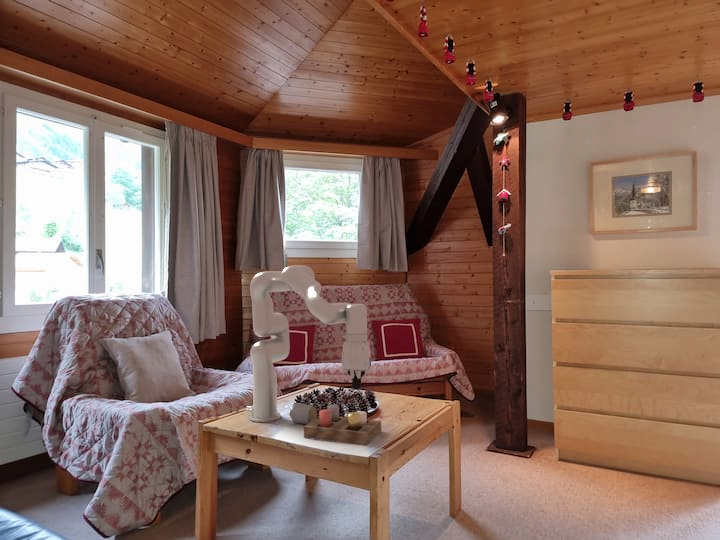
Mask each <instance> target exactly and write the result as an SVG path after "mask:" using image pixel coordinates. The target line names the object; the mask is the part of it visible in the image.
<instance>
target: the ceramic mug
mask: <svg viewBox="0 0 720 540" xmlns="http://www.w3.org/2000/svg"><path fill="white" fill-rule="evenodd" d="M317 413H318V411H317V408H316V407H315V406H313V405H312V404H306V403H301V402H296V403H294V405H293V407H292V408H291V414H290V415H291V421H292V423H295V424H303V425H307V424H309V423H310V422H312V421H313V420H315V419H317V418H318V414H317ZM316 417H317V418H316Z"/></svg>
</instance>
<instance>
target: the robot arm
mask: <svg viewBox="0 0 720 540" xmlns="http://www.w3.org/2000/svg"><path fill="white" fill-rule="evenodd" d="M315 276H316V275H315V272H314V270H313V268H311V267H310V266H308V265H304V264H303V265H302V264H301V265H299V264H298V265H289V266H287V267H284V269H283V270H282V271H279V270H278V271H275V270H269V271H268V270H267V271H262V272H261V271H260V272H258V273H257V274H255V275H254V276H253V278H252V279H251V281H250V286H249V292H250V293H249V294H250V298H251V310H252V312H251V313H252V328H253V329H252V330H253V333H254V335H255V336H257V337H259V338H267V337H270V338H269V339H263V340H259V341H257V342H255V343H254V344H253V345H251V348H250V350H249V351H250V353H249V354H250V361H251V365H252V381H253V382H252V386H253V387H252V397H253V398H252V402H253V403H252V405H246V407H245V412H246V413H250V415H249V417H248V418H249V420H250V421H251V422H256V423H270V422H273V421H277V420H279V419H281V415H282V414H281V413H280V412H278V398H277V397H278V393H277V392H278V389H277V388H278V386H277V385H278V383H277V382H278V380H277V377H278V376H277V370H276V368H275V365H274V363H275V362H276V363H277V362H280V361H283V360H285V359H286V358H288V356H289V354H290V349H291V348H290V347H291V346H290V345H291V344H290V325H289V324H290V323H289V321H288V319H287V316H286V315H284V313H282V312H274V311H275V310H274V301H273V299H272V297H271V295H270V294H269V293H280V292H283V293H284V292H289V291H293V292H294V293H296V294H297V295H298V296H299V297H301V298H302V299H303V300H304V301H305V305H306V307H307V309H308V311H309V312H310V314H311V315H313V317H315V318H316V319H318V320H319V321H320V322H321V323H323V324H325V325H329V326H330V325H336V324H344V323H345V334H342V339H345V341H343V345H342V351H341V352H342V353H341V369H342V373H346V374H348V375H349V376H350V378H351V383H352V384H351V387H353V389H352V390H354V391H359V390H361V387H362V378H363V377H364V376H365V375H367V374H369V375H370V374H371V373H372V354H371V347H370V342H369V341H368V324H367V321H368V311H367V305H366V304H364V303H348V302H334V303H330V302H328V301H327V300H326V299H324V298H323V297H321V296H320V294H321V291H322V284H321V283H320V282H318V281H317V280H316V278H315Z"/></svg>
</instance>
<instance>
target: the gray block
mask: <svg viewBox="0 0 720 540" xmlns="http://www.w3.org/2000/svg"><path fill="white" fill-rule="evenodd" d="M326 409H328V410H331V411H332V422H336V421H339V417H340V405H338V404H330V405H329V404H328V405H327V406H326Z"/></svg>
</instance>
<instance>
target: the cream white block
mask: <svg viewBox="0 0 720 540" xmlns="http://www.w3.org/2000/svg"><path fill="white" fill-rule="evenodd" d="M356 412H358V413H360V425H366V424H367V417H368V416H367V413H368V412H366V411H362V410H361V411H360V410H359V411H356Z"/></svg>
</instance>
